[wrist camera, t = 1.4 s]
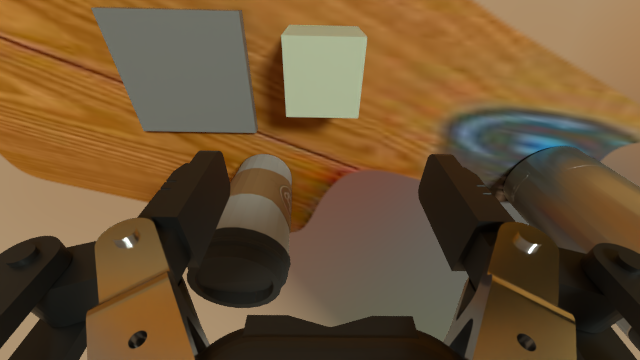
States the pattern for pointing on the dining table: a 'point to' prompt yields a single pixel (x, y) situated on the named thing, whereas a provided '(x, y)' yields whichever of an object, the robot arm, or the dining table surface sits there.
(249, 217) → the coffee cup
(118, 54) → the slate board
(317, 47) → the sage block
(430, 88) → the dining table surface
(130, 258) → the robot arm
